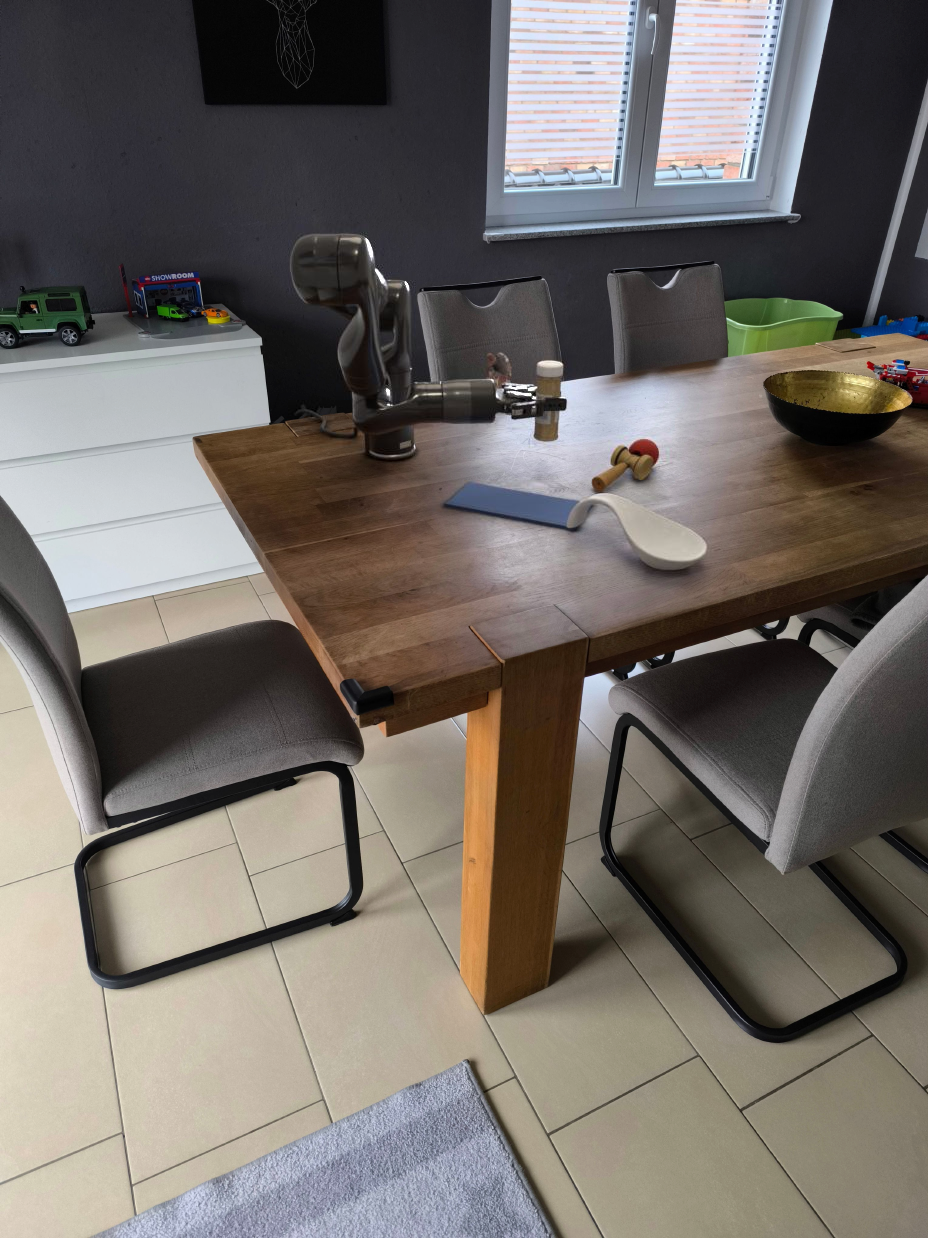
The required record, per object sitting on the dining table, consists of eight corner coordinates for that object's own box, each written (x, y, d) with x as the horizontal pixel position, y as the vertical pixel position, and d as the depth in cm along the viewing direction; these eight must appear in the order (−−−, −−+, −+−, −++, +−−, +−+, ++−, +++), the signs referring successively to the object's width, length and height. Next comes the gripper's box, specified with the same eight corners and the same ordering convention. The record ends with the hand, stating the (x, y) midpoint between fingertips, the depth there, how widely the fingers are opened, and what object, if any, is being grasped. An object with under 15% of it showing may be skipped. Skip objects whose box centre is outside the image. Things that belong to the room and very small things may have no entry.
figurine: (513, 409, 194) (515, 356, 188) (483, 408, 194) (483, 356, 188) (512, 399, 200) (514, 348, 194) (482, 399, 200) (483, 348, 194)
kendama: (619, 504, 152) (671, 464, 162) (614, 472, 149) (667, 433, 158) (584, 499, 157) (637, 461, 167) (579, 468, 154) (633, 431, 164)
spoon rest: (716, 561, 131) (725, 520, 127) (678, 589, 123) (686, 546, 119) (592, 514, 144) (596, 475, 140) (551, 537, 136) (554, 496, 132)
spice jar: (563, 439, 150) (569, 364, 143) (543, 444, 148) (548, 367, 141) (547, 432, 153) (552, 358, 146) (527, 436, 151) (531, 361, 144)
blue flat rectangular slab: (444, 506, 148) (444, 503, 148) (469, 484, 157) (469, 481, 156) (573, 530, 140) (574, 527, 140) (592, 505, 148) (593, 502, 148)
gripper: (472, 392, 137) (573, 389, 139) (463, 369, 150) (556, 367, 151) (471, 436, 141) (570, 433, 143) (462, 410, 154) (554, 407, 155)
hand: (562, 399), depth 147 cm, fingers closed on spice jar, 4 cm apart
